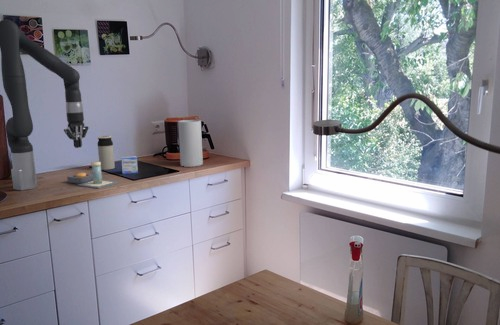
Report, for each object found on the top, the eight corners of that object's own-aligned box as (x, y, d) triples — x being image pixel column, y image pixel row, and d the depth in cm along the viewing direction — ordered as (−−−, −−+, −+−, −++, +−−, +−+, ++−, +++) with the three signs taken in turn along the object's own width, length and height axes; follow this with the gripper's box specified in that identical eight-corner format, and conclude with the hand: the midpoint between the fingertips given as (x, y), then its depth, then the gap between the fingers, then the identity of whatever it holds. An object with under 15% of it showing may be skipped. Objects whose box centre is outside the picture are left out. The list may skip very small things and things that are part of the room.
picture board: (98, 188, 210) (98, 187, 210) (77, 185, 217) (77, 184, 216) (117, 183, 220) (117, 181, 220) (97, 180, 227) (97, 179, 227)
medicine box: (122, 174, 239) (121, 158, 238) (122, 172, 244) (121, 156, 242) (137, 173, 241) (136, 157, 240) (137, 171, 246) (136, 155, 244)
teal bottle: (97, 184, 215) (95, 163, 213) (91, 183, 217) (89, 163, 215) (104, 182, 219) (102, 162, 217) (98, 181, 221) (96, 161, 219)
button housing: (80, 184, 219) (79, 178, 219) (67, 182, 224) (67, 176, 223) (95, 180, 227) (94, 174, 226) (82, 178, 231) (82, 172, 231)
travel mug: (117, 167, 258) (115, 135, 254) (109, 170, 250) (106, 137, 247) (105, 167, 260) (102, 135, 256) (96, 170, 252) (94, 137, 249)
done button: (80, 179, 221) (80, 175, 221) (73, 178, 224) (73, 174, 224) (88, 176, 226) (88, 173, 225) (81, 176, 228) (81, 172, 228)
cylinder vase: (197, 167, 251) (195, 122, 247) (176, 166, 255) (174, 122, 251) (206, 163, 263) (204, 119, 258) (186, 162, 267) (184, 119, 262)
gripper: (68, 112, 211) (71, 150, 214) (91, 110, 223) (94, 145, 226) (57, 112, 215) (61, 149, 218) (80, 110, 226) (84, 144, 230)
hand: (78, 147), depth 222 cm, fingers closed
